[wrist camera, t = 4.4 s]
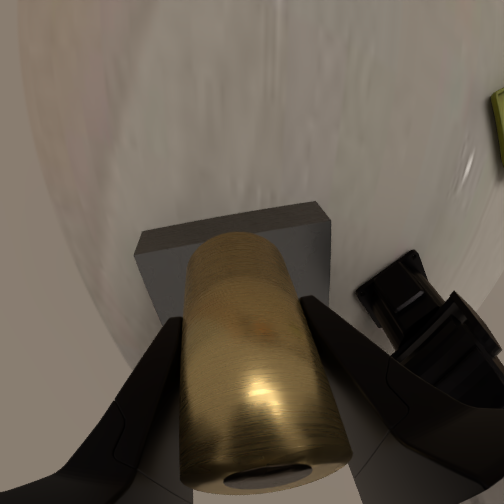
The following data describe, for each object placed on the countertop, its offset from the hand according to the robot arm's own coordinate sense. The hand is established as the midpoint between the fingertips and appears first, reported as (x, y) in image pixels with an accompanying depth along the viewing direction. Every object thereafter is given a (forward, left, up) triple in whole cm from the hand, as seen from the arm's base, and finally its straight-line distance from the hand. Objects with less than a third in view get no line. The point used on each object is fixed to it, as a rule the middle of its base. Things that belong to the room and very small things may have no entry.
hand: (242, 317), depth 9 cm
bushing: (0, 0, -2) cm, 2 cm away
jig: (-7, +4, -12) cm, 14 cm away
